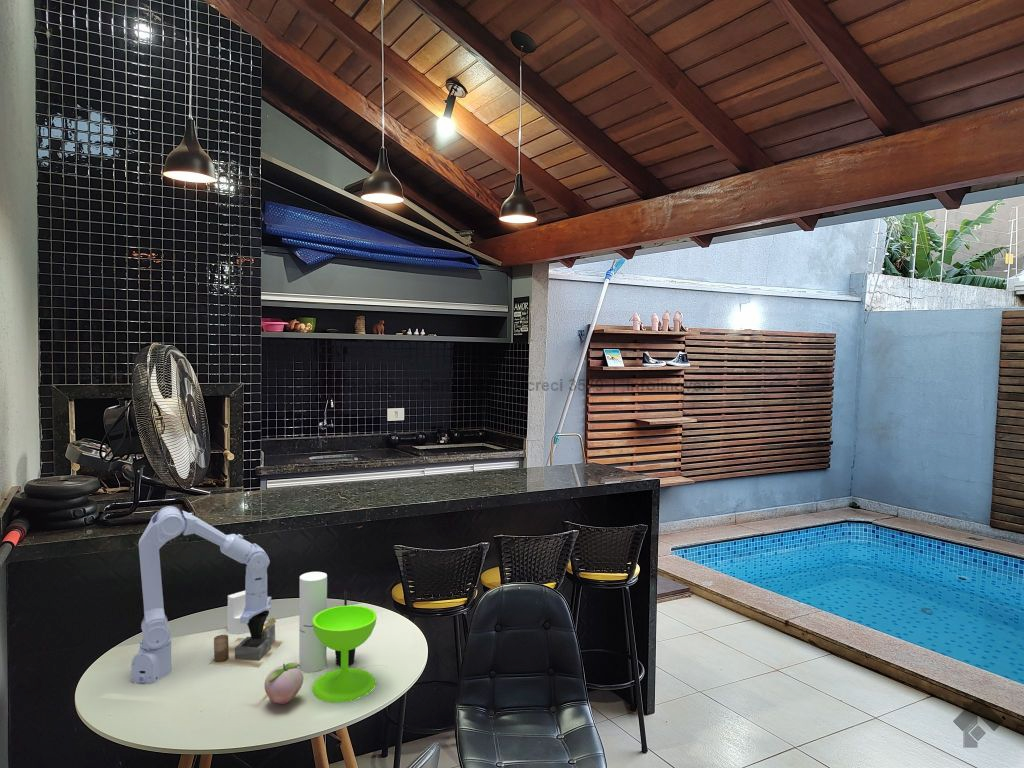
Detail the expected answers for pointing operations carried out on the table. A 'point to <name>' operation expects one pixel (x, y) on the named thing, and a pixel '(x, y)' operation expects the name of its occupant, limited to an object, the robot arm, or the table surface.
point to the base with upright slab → (236, 613)
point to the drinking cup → (350, 652)
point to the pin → (268, 624)
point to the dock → (252, 650)
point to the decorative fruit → (284, 683)
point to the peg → (221, 648)
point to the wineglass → (344, 651)
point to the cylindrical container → (311, 621)
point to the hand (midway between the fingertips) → (256, 638)
